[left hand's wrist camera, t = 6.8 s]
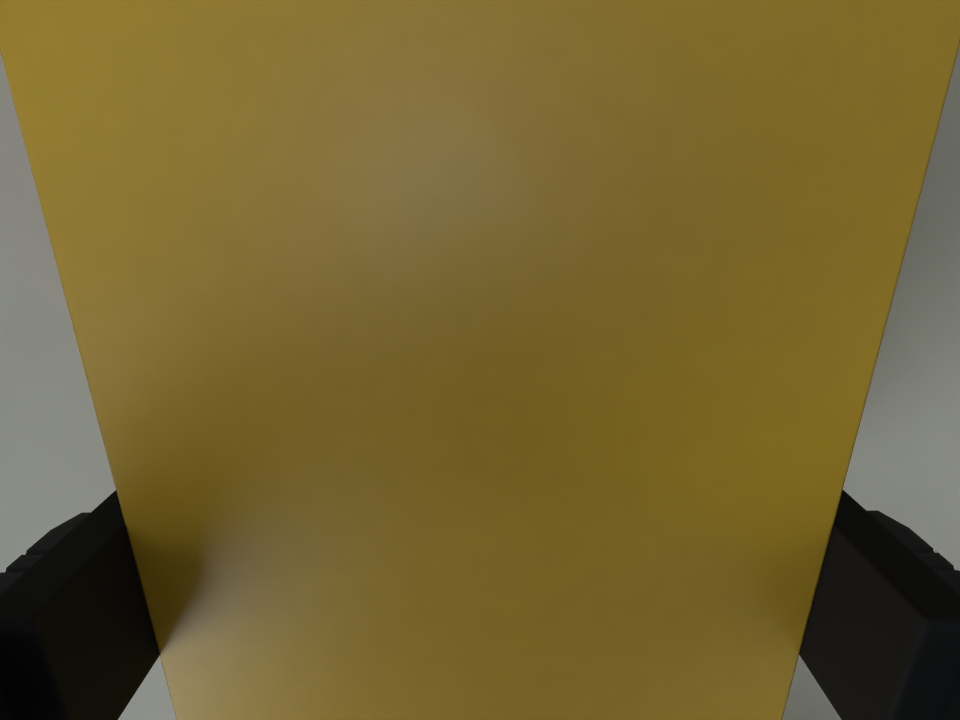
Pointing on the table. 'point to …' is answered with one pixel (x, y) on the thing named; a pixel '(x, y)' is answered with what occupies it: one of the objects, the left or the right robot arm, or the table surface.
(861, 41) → the yellow two-tone block
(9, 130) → the table surface
